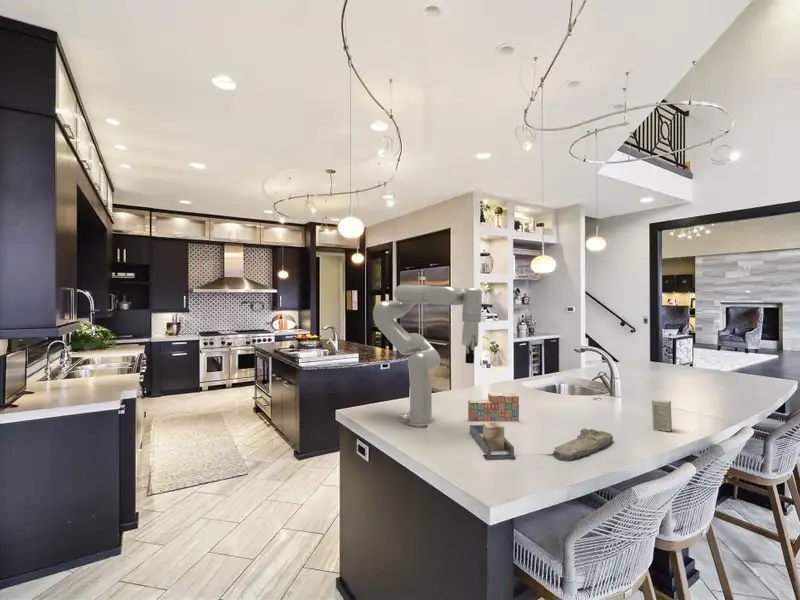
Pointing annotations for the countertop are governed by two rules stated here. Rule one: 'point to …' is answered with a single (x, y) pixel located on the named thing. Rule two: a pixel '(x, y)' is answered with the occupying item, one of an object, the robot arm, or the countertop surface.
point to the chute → (475, 432)
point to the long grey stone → (583, 444)
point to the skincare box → (661, 415)
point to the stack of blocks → (495, 408)
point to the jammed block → (494, 435)
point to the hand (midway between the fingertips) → (469, 363)
